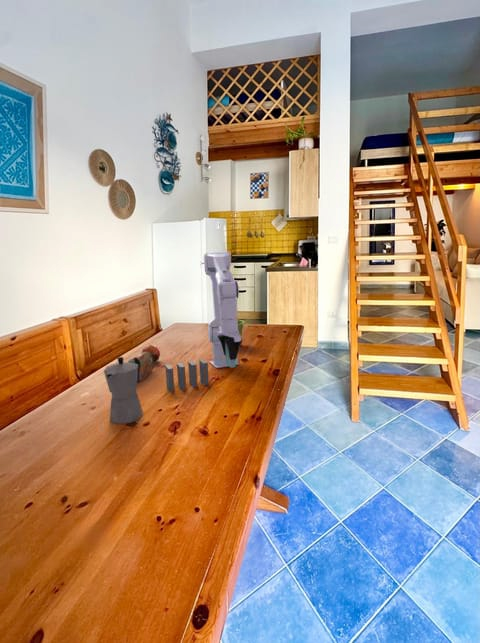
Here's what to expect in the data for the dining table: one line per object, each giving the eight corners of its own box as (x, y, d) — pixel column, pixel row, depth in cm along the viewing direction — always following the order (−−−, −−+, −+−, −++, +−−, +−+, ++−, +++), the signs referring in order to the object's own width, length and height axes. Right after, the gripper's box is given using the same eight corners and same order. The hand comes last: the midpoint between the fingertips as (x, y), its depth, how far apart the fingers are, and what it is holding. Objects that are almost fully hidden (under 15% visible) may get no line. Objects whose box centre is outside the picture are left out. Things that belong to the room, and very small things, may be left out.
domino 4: (204, 380, 135) (203, 358, 133) (208, 384, 131) (207, 362, 129) (200, 380, 134) (199, 359, 132) (204, 385, 130) (203, 363, 128)
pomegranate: (161, 368, 154) (163, 348, 160) (156, 359, 148) (158, 338, 155) (143, 371, 154) (146, 351, 161) (137, 361, 149) (140, 340, 155)
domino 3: (193, 382, 133) (192, 360, 131) (197, 386, 129) (196, 364, 127) (189, 383, 133) (188, 361, 131) (193, 387, 129) (191, 365, 127)
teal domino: (230, 362, 131) (229, 340, 129) (235, 366, 127) (234, 344, 125) (226, 363, 130) (225, 341, 129) (231, 367, 126) (230, 344, 125)
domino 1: (171, 386, 130) (169, 364, 128) (174, 391, 126) (173, 368, 124) (166, 387, 130) (165, 365, 128) (169, 391, 126) (168, 369, 124)
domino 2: (182, 384, 132) (181, 362, 130) (186, 388, 128) (184, 366, 126) (178, 385, 131) (176, 363, 129) (181, 389, 127) (180, 367, 125)
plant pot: (234, 341, 183) (233, 318, 180) (250, 346, 174) (250, 322, 171) (214, 346, 175) (213, 322, 173) (230, 351, 166) (229, 326, 164)
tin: (137, 384, 133) (135, 361, 131) (129, 383, 134) (126, 361, 132) (154, 369, 147) (153, 348, 145) (147, 368, 148) (145, 348, 146)
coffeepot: (127, 429, 102) (120, 366, 98) (98, 425, 104) (90, 363, 100) (156, 405, 116) (151, 349, 112) (129, 402, 119) (124, 347, 115)
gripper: (210, 315, 130) (211, 352, 133) (225, 323, 117) (227, 365, 120) (229, 312, 133) (230, 349, 136) (246, 321, 120) (247, 361, 123)
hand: (230, 357), depth 128 cm, fingers closed on teal domino, 4 cm apart
